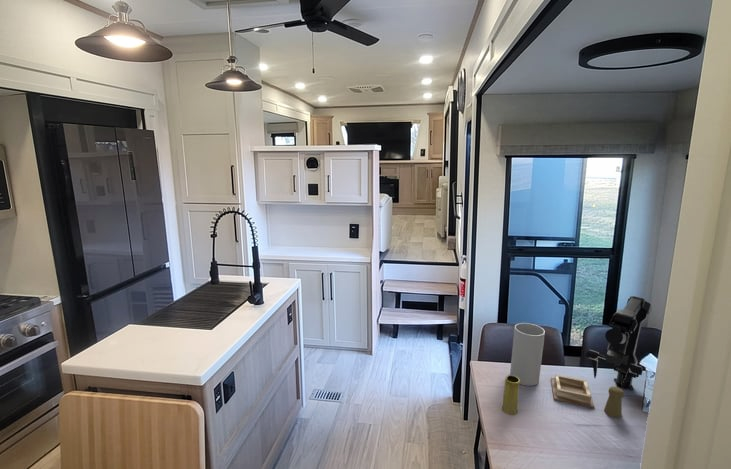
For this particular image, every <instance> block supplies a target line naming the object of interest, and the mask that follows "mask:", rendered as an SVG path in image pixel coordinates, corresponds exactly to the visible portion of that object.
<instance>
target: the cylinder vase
mask: <svg viewBox="0 0 731 469" xmlns="http://www.w3.org/2000/svg"><path fill="white" fill-rule="evenodd" d="M513 330H514V331H513V341H512V351H511V360H510V361H511V362H510V371H509V375H513V376H516V377H518V378H519V380H520V382H519V385H522V386H527V387H533V386H536V385H538V384H539V382H540V375H541V367H542V360H543V359H542V358H543V353H544V352H543V351H544V343H545V335H546V334H545V333H546V331H545V329H544V328H543V327H541V326H539V325H537V324H533V323H530V322H529V323H528V322H520V323H517V324H515V325H514V329H513Z"/></svg>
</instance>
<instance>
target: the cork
mask: <svg viewBox="0 0 731 469" xmlns="http://www.w3.org/2000/svg"><path fill="white" fill-rule="evenodd" d="M624 395H625V393H624V391H623V388H621V387H617V386H610V387H608V398H607V400H606V404H605V406H604V409H603V411H604V413H605V414H606V415H607V416H609V417H611V418H615V419H620V418H622V417H623V416H622V408H623V407H622V404H623V403H622V400H623V399H624Z"/></svg>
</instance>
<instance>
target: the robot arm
mask: <svg viewBox="0 0 731 469" xmlns="http://www.w3.org/2000/svg"><path fill="white" fill-rule="evenodd" d="M651 312H652V304H651V303H650V302H648V301H646V299H645V298H644V297H640V296H635V295H630V296H629V298H627V301H626V305H625V306H624V307H623V309H618V310H617V311H616V312H615V313H613V314H612V316H611V318H610V320H609V322H608V325H607V327H608V328H610V329H608V330H606V332H605V335H604V337H605V340H606V342H608V346H607V350H606V352H605V355H602V354H600V352H598V351H595V350H593V349H588V350H586V353H585V357H587V358H588V360H589V361H591V364H592V368H593V378H594V379H596V377H597V374H598V367H599V366H598V364H599V360H601V361H604V362H606V363H609V364H612V365H613V371H614V372H617V373H616V378H613V380H614V381H613V382H614V383H615V387H618V388H620V389H627V390H631V391H634V390H635V388H634V386H633V378H634V379H636V378H639V377H640V376H642V374H643V371H644V368H643V367H642V366H640V365H638V363H639V362H638V358H637V355H636V350H637V346H638V341H639V337H640V333H641V329H642V323H643V322H644V321H645V320H646V319H648V317H649V315H651Z"/></svg>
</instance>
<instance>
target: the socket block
mask: <svg viewBox="0 0 731 469" xmlns="http://www.w3.org/2000/svg"><path fill="white" fill-rule="evenodd" d="M550 383H551V390H552V395H553V396H552V398H553V401H558V402H561V403H566V404H570V405H575V406H580V407H585V408H589V409H593V410H594V409H595V404H594V403H595V402H594V400H593V397H592V394H591V389H590V387H589V385H588V382H587V380H586V379H581V378H576V377H571V376H565V375H560V374H556V373H555V374H554V377H550Z"/></svg>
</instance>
